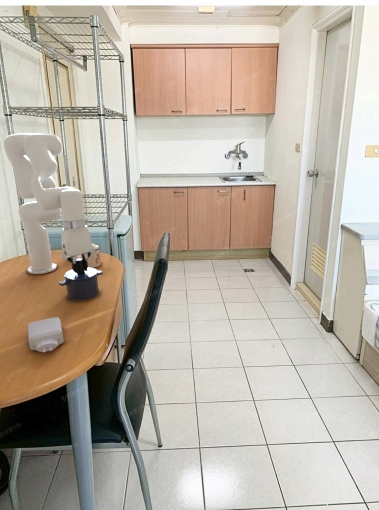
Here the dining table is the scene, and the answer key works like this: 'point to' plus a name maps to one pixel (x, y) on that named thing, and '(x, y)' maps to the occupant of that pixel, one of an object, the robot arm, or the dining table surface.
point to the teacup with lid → (94, 258)
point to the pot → (82, 288)
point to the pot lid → (80, 272)
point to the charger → (45, 334)
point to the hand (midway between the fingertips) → (80, 270)
